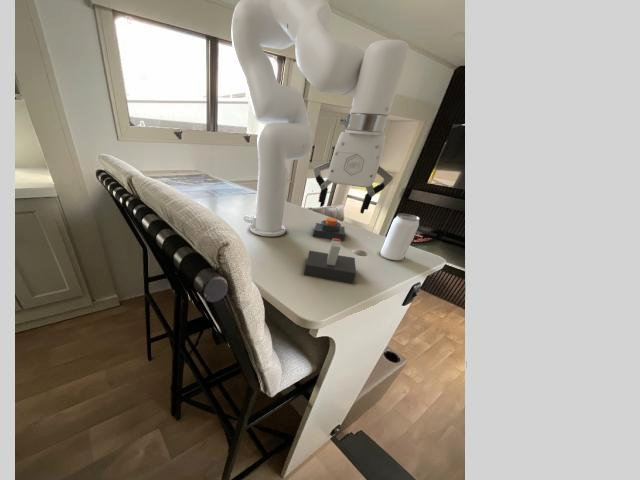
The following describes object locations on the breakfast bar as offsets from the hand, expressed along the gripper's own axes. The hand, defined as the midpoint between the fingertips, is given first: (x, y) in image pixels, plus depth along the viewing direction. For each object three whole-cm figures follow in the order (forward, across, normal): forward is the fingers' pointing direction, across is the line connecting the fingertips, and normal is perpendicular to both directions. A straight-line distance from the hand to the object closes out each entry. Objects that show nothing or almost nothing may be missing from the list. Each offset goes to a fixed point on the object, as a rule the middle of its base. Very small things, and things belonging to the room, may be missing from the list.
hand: (341, 208), depth 63 cm
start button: (+12, -2, +22) cm, 25 cm away
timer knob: (+12, +1, -6) cm, 13 cm away
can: (+15, +18, +13) cm, 27 cm away
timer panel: (+15, +1, -6) cm, 16 cm away
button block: (+15, -2, +22) cm, 27 cm away
